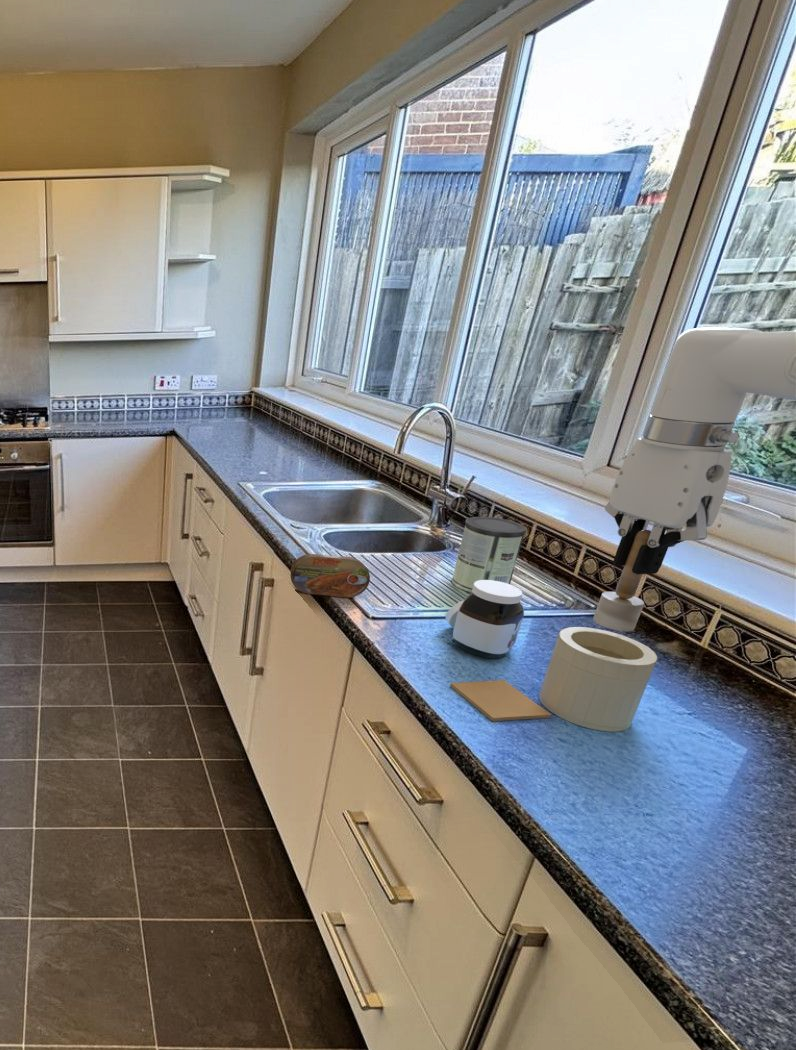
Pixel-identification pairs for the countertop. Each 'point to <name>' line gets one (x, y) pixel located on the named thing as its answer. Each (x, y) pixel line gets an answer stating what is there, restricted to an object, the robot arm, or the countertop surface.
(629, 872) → the countertop surface
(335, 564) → the tin
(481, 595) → the spread jar
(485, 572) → the coffee can
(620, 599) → the round handled stamp
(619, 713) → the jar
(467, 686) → the mat
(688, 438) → the robot arm
